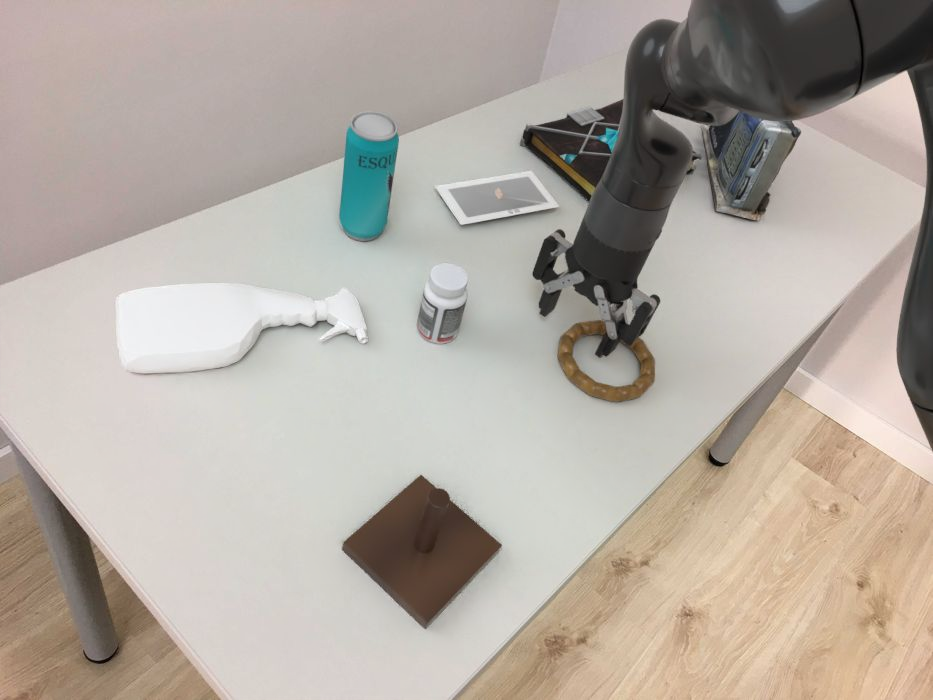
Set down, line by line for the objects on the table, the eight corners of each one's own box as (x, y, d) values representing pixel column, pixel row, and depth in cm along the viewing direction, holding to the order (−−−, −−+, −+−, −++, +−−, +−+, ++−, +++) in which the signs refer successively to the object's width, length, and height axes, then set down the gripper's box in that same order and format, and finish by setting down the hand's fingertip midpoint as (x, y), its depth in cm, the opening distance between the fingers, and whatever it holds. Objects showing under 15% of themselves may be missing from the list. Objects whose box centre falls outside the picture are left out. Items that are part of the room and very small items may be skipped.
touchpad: (433, 192, 104) (435, 179, 102) (529, 177, 110) (533, 164, 109) (459, 231, 100) (462, 218, 98) (557, 212, 106) (562, 200, 105)
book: (619, 113, 126) (630, 85, 122) (695, 174, 119) (709, 146, 115) (517, 144, 115) (526, 114, 111) (595, 214, 108) (607, 185, 104)
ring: (669, 368, 91) (674, 359, 90) (618, 421, 85) (623, 412, 83) (592, 312, 95) (596, 303, 94) (537, 359, 88) (541, 350, 87)
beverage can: (388, 245, 96) (404, 141, 85) (340, 245, 94) (350, 139, 83) (382, 214, 99) (396, 110, 88) (336, 213, 98) (345, 107, 87)
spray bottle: (117, 302, 82) (349, 286, 90) (120, 385, 76) (370, 359, 84) (113, 282, 80) (352, 267, 88) (116, 365, 74) (374, 341, 82)
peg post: (498, 552, 72) (524, 500, 65) (425, 629, 66) (444, 581, 59) (418, 482, 75) (434, 425, 68) (341, 550, 69) (350, 495, 62)
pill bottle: (460, 319, 90) (475, 266, 84) (454, 349, 87) (468, 296, 81) (420, 309, 90) (431, 255, 84) (412, 339, 87) (423, 285, 80)
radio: (700, 125, 128) (741, 39, 117) (751, 139, 128) (797, 55, 117) (700, 210, 113) (747, 121, 102) (758, 227, 113) (811, 139, 102)
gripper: (543, 199, 78) (506, 312, 90) (662, 280, 74) (606, 387, 86) (585, 172, 83) (544, 283, 95) (700, 246, 78) (641, 353, 90)
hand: (573, 332), depth 90 cm, fingers open, 7 cm apart
